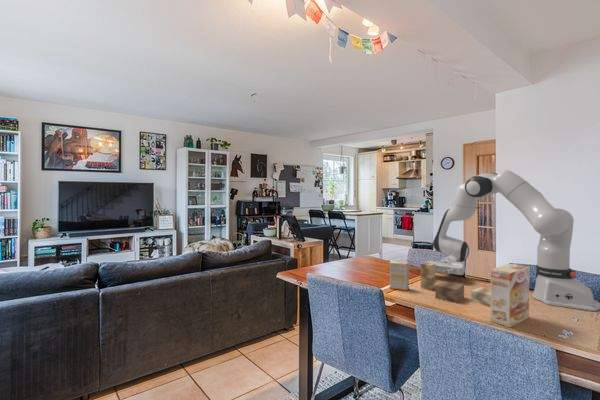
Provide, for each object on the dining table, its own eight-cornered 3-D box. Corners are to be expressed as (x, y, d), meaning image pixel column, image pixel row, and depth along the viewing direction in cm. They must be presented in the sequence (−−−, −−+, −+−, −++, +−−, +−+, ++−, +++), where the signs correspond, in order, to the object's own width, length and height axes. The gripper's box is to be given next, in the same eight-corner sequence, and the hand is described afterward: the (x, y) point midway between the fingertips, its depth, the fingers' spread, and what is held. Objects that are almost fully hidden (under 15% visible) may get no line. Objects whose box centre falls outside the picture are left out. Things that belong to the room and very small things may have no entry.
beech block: (499, 303, 139) (499, 291, 138) (491, 307, 134) (491, 295, 134) (479, 298, 145) (479, 287, 145) (471, 302, 140) (471, 290, 140)
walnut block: (464, 298, 145) (464, 284, 145) (456, 303, 139) (456, 289, 139) (443, 293, 152) (443, 280, 152) (435, 298, 145) (435, 285, 145)
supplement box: (409, 288, 160) (409, 261, 159) (406, 291, 156) (406, 263, 155) (392, 286, 164) (392, 260, 163) (389, 288, 160) (389, 262, 159)
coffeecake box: (510, 328, 114) (510, 272, 113) (489, 321, 120) (489, 268, 119) (530, 318, 122) (530, 266, 121) (509, 312, 128) (509, 262, 127)
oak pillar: (435, 287, 160) (435, 263, 159) (431, 290, 156) (431, 265, 156) (425, 285, 163) (425, 262, 163) (420, 288, 160) (420, 263, 159)
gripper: (428, 257, 185) (417, 261, 175) (467, 262, 170) (458, 267, 160) (428, 268, 185) (418, 273, 175) (467, 274, 170) (458, 280, 161)
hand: (437, 270), depth 168 cm, fingers open, 8 cm apart
